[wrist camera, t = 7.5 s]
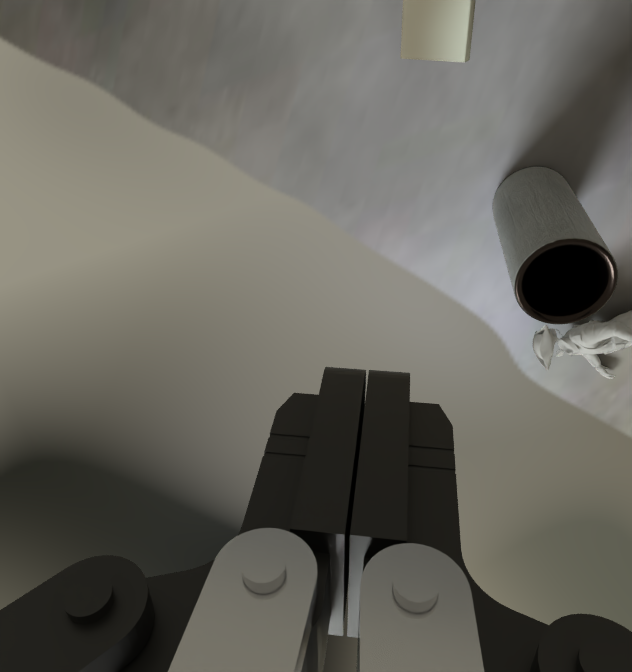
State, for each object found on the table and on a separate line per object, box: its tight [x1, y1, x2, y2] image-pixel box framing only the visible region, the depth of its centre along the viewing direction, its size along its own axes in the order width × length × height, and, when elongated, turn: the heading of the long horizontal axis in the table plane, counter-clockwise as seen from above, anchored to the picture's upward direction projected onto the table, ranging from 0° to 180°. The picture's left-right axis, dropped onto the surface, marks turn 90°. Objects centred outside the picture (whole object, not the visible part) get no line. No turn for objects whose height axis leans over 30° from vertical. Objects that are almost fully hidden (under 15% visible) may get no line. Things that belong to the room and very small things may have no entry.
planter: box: [493, 167, 618, 324], centre depth 32 cm, size 4×4×10 cm
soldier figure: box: [533, 310, 632, 379], centre depth 38 cm, size 8×5×12 cm
